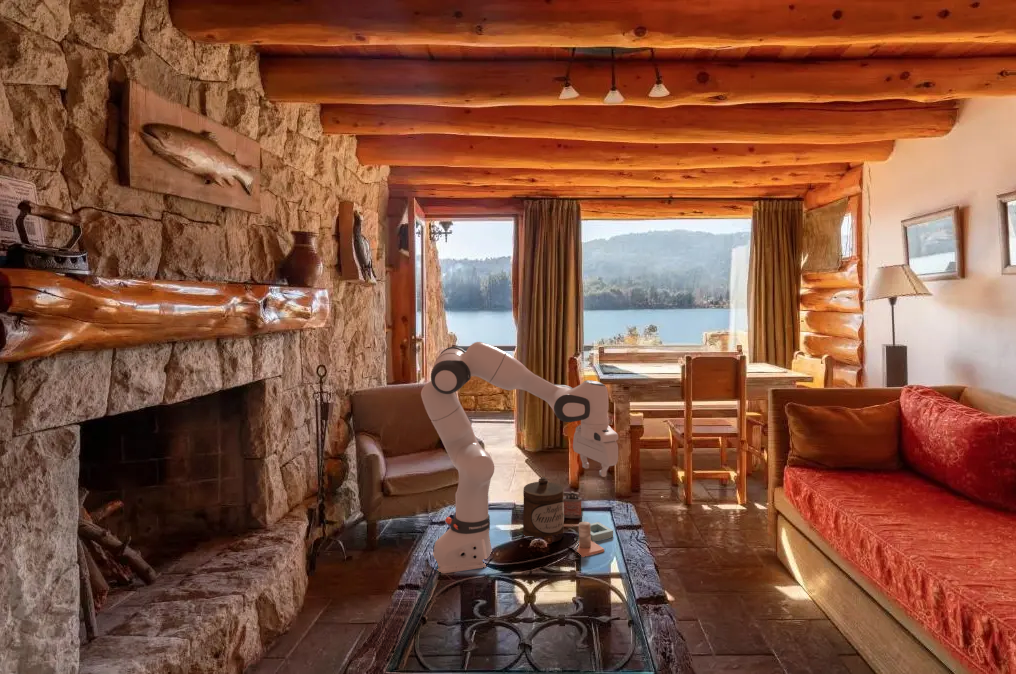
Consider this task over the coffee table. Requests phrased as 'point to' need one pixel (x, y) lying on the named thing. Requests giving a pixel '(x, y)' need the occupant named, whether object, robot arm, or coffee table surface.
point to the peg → (584, 535)
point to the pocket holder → (600, 532)
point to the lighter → (572, 505)
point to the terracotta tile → (590, 550)
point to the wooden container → (543, 509)
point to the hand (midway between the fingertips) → (594, 472)
